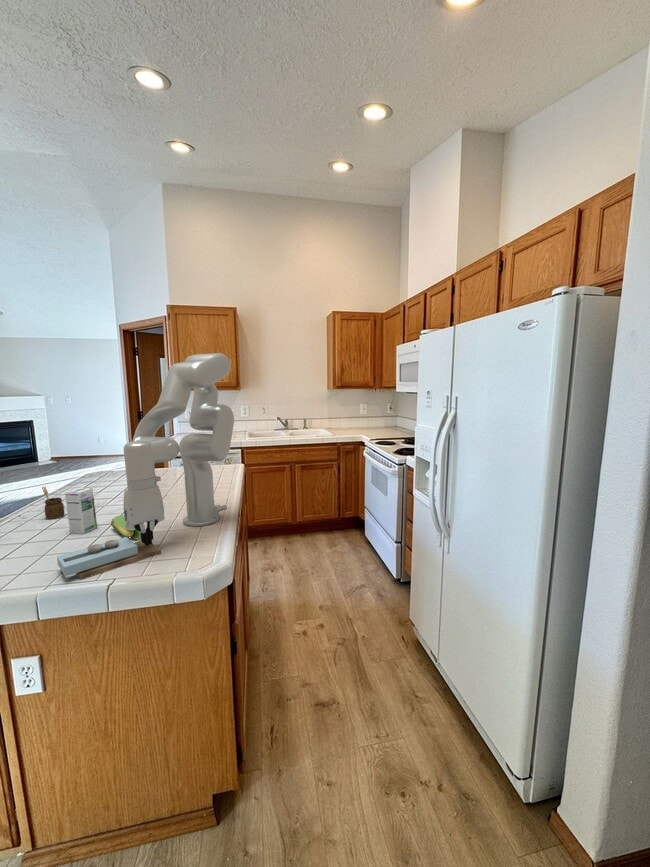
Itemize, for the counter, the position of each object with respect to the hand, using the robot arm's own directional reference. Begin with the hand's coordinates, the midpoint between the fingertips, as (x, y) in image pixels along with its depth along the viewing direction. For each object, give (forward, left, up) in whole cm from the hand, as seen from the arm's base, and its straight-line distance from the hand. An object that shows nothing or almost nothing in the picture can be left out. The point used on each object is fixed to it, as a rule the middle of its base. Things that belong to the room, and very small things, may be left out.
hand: (147, 543), depth 109 cm
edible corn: (+1, -18, -2) cm, 18 cm away
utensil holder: (+13, -58, -2) cm, 59 cm away
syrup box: (+9, -33, -2) cm, 34 cm away
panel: (+13, 0, 0) cm, 13 cm away
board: (+8, 0, -2) cm, 9 cm away
